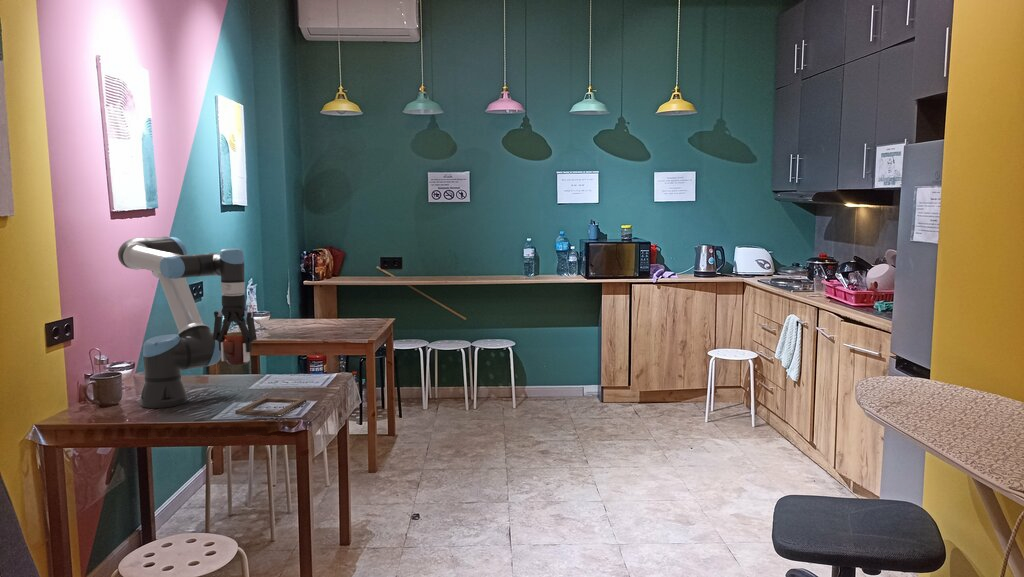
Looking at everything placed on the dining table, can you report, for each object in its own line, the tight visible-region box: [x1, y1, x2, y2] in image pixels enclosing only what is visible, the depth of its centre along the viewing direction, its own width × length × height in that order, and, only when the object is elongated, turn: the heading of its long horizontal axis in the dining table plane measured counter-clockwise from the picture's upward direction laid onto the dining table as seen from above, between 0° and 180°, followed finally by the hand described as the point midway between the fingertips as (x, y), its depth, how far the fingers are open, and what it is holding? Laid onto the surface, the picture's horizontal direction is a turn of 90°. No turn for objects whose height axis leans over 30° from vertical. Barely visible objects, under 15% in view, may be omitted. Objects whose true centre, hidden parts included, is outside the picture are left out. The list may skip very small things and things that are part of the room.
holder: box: [234, 396, 307, 417], centre depth 258 cm, size 16×19×1 cm
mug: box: [223, 331, 250, 366], centre depth 257 cm, size 12×9×10 cm
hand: (235, 360), depth 257 cm, fingers closed on mug, 7 cm apart
